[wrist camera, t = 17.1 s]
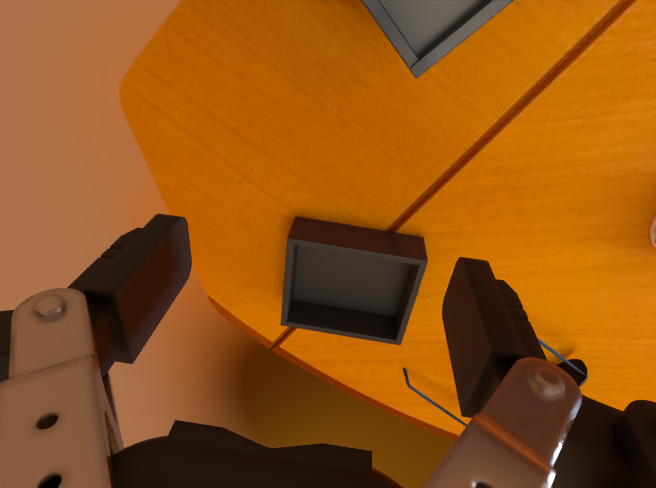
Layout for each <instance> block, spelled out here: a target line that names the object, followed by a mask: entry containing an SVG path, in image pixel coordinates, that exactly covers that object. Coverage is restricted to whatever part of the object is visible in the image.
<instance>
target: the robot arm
mask: <svg viewBox="0 0 656 488" xmlns="http://www.w3.org/2000/svg"><path fill="white" fill-rule="evenodd" d="M191 265H192V259H191V250H190V241H189V232H188V224H187V220H186V219H185V218H184V217H179V216H172V215H165V214H157V215H155V216H154V217H153V218H152V219H151V220H150V221H149V222H148V223H147V224H146V225H145V227H143V228H136V229H134V230H132V231H130V232H128V233H126V234H124V235H122V236H121V237H120V238H118V240H116V241H115V242H114V243H113V244H112V245H111V246H110V249H107V250H106V251H105V252H104V253H103V254H102V255H101V258H98V259H97V260H96V261H95V262H94V263H92V264H91V265H90V266H89V267H88V268H87V269H86V270H85V271H84V272H83V273H82V274H81V275H80V276H79V277H78V278H77V279H76V280H75V281H74V282H73V283H72V284H71V285H70V286H68V287H67V288H57V289H51V290H46V291H43V292H40V293H37V294H35V295H33V296H31V297H29V298H27V299H26V300H25V301H23V302H22V303H21V304H19V305H18V307H17V308H16V309H15V310H9V311H0V488H403V487H401V486H400V485H399V484H398V483H397V482H395V481H394V480H393V479H391V478H390V477H388V476H387V475H385V474H383V473H382V472H380V471H378V470H376V469H374V468H372V451H367V450H361V449H355V448H348V447H342V446H336V445H329V444H313V445H303V446H292V447H282V448H268V447H265V446H263V445H260V444H258V443H256V442H253V441H252V440H249V439H247V438H245V437H243V436H240V435H238V434H236V433H234V432H232V431H229V430H227V429H225V428H222V427H216V426H210V425H203V424H197V423H191V422H185V421H178V420H175V422H174V424H173V426H172V428H171V431H170V433H169V435H168V436H162V437H157V438H152V439H148V440H145V441H142V442H139V443H136V444H134V445H131V446H129V447H127V448H124V446H123V442H122V438H121V433H120V428H119V422H118V416H117V411H116V406H115V400H114V395H113V390H112V384H111V379H110V375H109V372H108V371H109V369H110V368H111V366H112V365H113V364H114V362H115V361H116V362H123V363H129V364H133V362H134V361H135V359H136V358H137V356H138V355H139V353H140V352H141V350H142V349H143V347H144V346H145V344H146V342H147V341H148V339H149V338H150V336H151V335H152V333H153V332H154V330H155V329H156V327H157V326H158V324H159V323H160V321H161V320H162V318H163V317H164V315H165V314H166V312H167V310H168V309H169V307H170V306H171V304H172V303H173V301H174V300H175V298H176V297H177V295H178V294H179V292H180V291H181V289H182V288H183V286H184V285H185V283H186V281H187V280H188V278H189V275H190V271H191ZM442 318H443V324H444V329H445V334H446V339H447V344H448V349H449V354H450V359H451V364H452V369H453V375H454V380H455V385H456V390H457V395H458V400H459V405H460V410H461V415H462V416H463V417H469V418H472V419H471V421H470V422H469V424H468V425H467V426H466V428H465V429H464V431H463V432H462V433H461V435H460V436H459V438H458V439H457V440H456V442H455V443H454V445H453V446H452V447H451V449H450V450H449V452H448V453H447V454H446V456H445V457H444V459H443V460H442V461H441V463H440V464H439V466H438V467H437V468H436V470H435V471H434V473H433V474H432V475H431V477H430V479H429V480H428V481H427V482H426V484H425V485H424V487H423V488H550V487H552V488H656V402H652V401H647V400H636V401H633V402H631V403H630V404H629V405H628V406H627V407H626V408H625V410H624V411H620V410H618V409H615V408H613V407H610V406H608V405H605V404H603V403H600V402H598V401H595V400H593V399H590V398H588V397H586V396H583V395H582V394H581V391H580V389H579V387H578V385H577V384H576V382H575V381H574V380H573V378H572V377H571V376H570V375H569V374H568V373H566V372H565V371H564V370H563V369H561V368H560V367H558V366H557V365H555V364H553V363H551V362H548V361H547V359H546V356H545V354H544V352H543V350H542V348H541V345H540V343H539V341H538V339H537V337H536V335H535V332H534V330H533V328H532V326H531V324H530V321H528V317H527V315H526V313H525V310H523V306H522V304H521V302H520V300H519V297H518V295H517V293H516V292H515V291H514V290H513V289H512V288H511V287H510V286H509V285H508V284H507V283H506V282H505V281H504V280H497V279H495V277H494V274H493V272H492V270H491V267H490V265H489V263H488V261H486V260H479V259H472V258H465V257H460V258H459V259H458V260H457V262H456V265H455V268H454V271H453V274H452V276H451V279H450V282H449V285H448V288H447V291H446V294H445V297H444V301H443V307H442Z"/></svg>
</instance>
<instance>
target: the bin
mask: <svg viewBox="0 0 656 488" xmlns="http://www.w3.org/2000/svg"><path fill="white" fill-rule="evenodd" d="M427 262H428V260H427V254H426V248H425V243H424V238H423V237H417V236H411V235H405V234H399V233H393V232H386V231H380V230H374V229H368V228H362V227H356V226H350V225H344V224H337V223H331V222H325V221H319V220H313V219H307V218H301V217H295V219H294V222H293V225H292V228H291V230H290V233H289V236H288V239H287V251H286V264H285V276H284V289H283V301H282V313H281V325H283V326H289V327H295V328H301V329H307V330H313V331H319V332H324V333H330V334H336V335H342V336H348V337H354V338H360V339H366V340H372V341H378V342H383V343H389V344H396V345H401V342H402V339H403V336H404V333H405V330H406V327H407V324H408V321H409V318H410V315H411V312H412V308H413V305H414V302H415V299H416V296H417V293H418V290H419V287H420V284H421V281H422V278H423V275H424V272H425V269H426V266H427Z"/></svg>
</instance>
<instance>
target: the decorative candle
mask: <svg viewBox="0 0 656 488" xmlns="http://www.w3.org/2000/svg"><path fill="white" fill-rule="evenodd" d="M649 232H650V239H651V243H652V244H653V245H654V247H655V248H656V215H655V217H654V220H653V222H652V225H651V227H650V230H649Z"/></svg>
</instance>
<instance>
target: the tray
mask: <svg viewBox="0 0 656 488" xmlns="http://www.w3.org/2000/svg"><path fill="white" fill-rule="evenodd" d="M361 1H362V2H363V4H364V5H365V7H366V8H367V9H368V11H369V12H370V14H371V15H372V17H373V18H374V19H375V21H376V22H377V24H378V25H379V27H380V28H381V30H382V31H383V32H384V34H385V35H386V37H387V38H388V40H389V41H390V42H391V44H392V45H393V47H394V48H395V50H396V51H397V52H398V54H399V55H400V57H401V58H402V60H403V61H404V62H405V64H406V65H407V67H408V68H409V70H410V71H411V72H412V74H413V75H414V77H415V78H418V77H419V76H420V75H422V74H423V73H424V72H425V71H427V70H428V69H429V68H430V67H432V66H433V65H434V64H435V63H437V62H438V61H439V60H440V59H442V58H443V57H444V56H445V55H447V54H448V53H449V52H450V51H451V50H453V49H454V48H455V47H456V46H458V45H459V44H460V43H461V42H463V41H464V40H465V39H466V38H468V37H469V36H470V35H471V34H473V33H474V32H475V31H476V30H478V29H479V28H480V27H481V26H482V25H484V24H485V23H486V22H487V21H489V20H490V19H491V18H492V17H494V16H495V15H496V14H497V13H499V12H500V11H501V10H502V9H504V8H505V7H506V6H507V5H509V4H510V3H511V2H512V1H514V0H361Z"/></svg>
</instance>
